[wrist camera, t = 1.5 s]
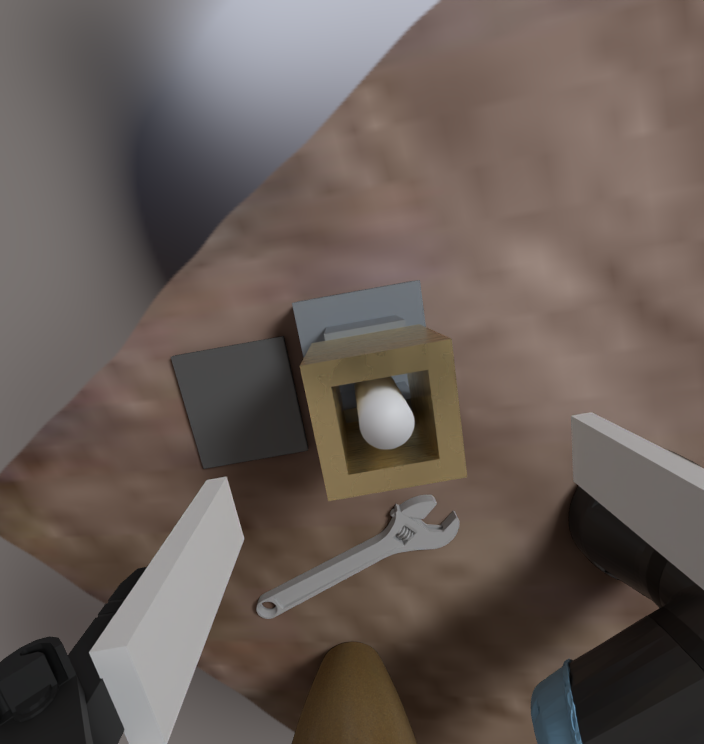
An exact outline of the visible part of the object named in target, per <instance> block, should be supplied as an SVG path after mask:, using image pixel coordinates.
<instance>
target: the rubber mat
mask: <svg viewBox="0 0 704 744" xmlns="http://www.w3.org/2000/svg"><path fill="white" fill-rule="evenodd" d="M171 360H172V363H173V367H174V370H175V373H176V377H177V380H178V384H179V387H180V390H181V394H182V397H183V401H184V404H185V407H186V411H187V414H188V418H189V421H190V424H191V428H192V431H193V435H194V438H195V441H196V445H197V448H198V452H199V455H200V458H201V462H202V465H203V469H206V468H211V467H217V466H223V465H229V464H234V463H240V462H246V461H251V460H257V459H263V458H269V457H274V456H280V455H286V454H291V453H297V452H303V451H308V444H307V440H306V435H305V431H304V426H303V422H302V417H301V412H300V408H299V403H298V399H297V394H296V390H295V385H294V380H293V376H292V371H291V367H290V362H289V358H288V353H287V348H286V344H285V339H284V336H281V337H276V338H270V339H265V340H259V341H253V342H248V343H242V344H237V345H231V346H225V347H220V348H214V349H209V350H203V351H197V352H192V353H186V354H181V355H175V356H172V357H171Z"/></svg>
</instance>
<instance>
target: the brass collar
mask: <svg viewBox="0 0 704 744" xmlns="http://www.w3.org/2000/svg"><path fill="white" fill-rule="evenodd" d="M300 370H301V375H302V379H303V384H304V389H305V393H306V398H307V403H308V408H309V412H310V417H311V422H312V426H313V431H314V436H315V440H316V445H317V450H318V455H319V459H320V464H321V469H322V473H323V478H324V483H325V487H326V492H327V497H328V501H332V500H338V499H344V498H349V497H355V496H361V495H367V494H372V493H378V492H384V491H390V490H396V489H401V488H407V487H413V486H419V485H424V484H430V483H436V482H442V481H447V480H453V479H459V478H465V477H467V471H466V463H465V454H464V445H463V436H462V427H461V418H460V410H459V401H458V392H457V383H456V374H455V365H454V357H453V348H452V339H450V338H448V337H446V336H444V335H442V334H440V333H437V332H435V331H433V330H431V329H429V328H426V327H424V326H422V325H420V324H417V325H412V326H406V327H401V328H395V329H389V330H384V331H378V332H373V333H367V334H361V335H356V336H350V337H345V338H339V339H333V340H328V341H322V342H317V343H312V344H311V346H310V348H309V349H308V351H307V353H306V355H305V357H304V359H303V361H302V363H301V364H300ZM401 374H407V377H408V384H409V391H410V397H411V404H412V411H413V412H412V413H413V416H414V430H413V432H412V434H411V436H410V438H409V439H408V440H407V441H406V442H405V443H404V444H402V445H401V446H399V447H397V448H394V449H379V448H376V447H373V446H372V445H370V444H369V443H368V442H367V441H366V440H365V439H364V438H363V436H362V434H361V431H360V426H359V421H357V422H351V423H346V419H345V414H344V408H343V403H342V398H341V393H340V387H339V385H344V384H350V383H356V382H361V381H367V380H373V379H378V378H384V377H390V376H395V375H401Z"/></svg>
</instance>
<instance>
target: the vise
mask: <svg viewBox="0 0 704 744" xmlns="http://www.w3.org/2000/svg"><path fill="white" fill-rule="evenodd" d="M292 305H293V310H294V315H295V320H296V324H297V329H298V334H299V339H300V344H301V348H302V353H303V358H304V357H305V355H306V353H307V351H308V349H309V348H310V346H311V344H312V343H317V342H322V341H328V340H333V339H339V338H345V337H350V336H356V335H361V334H367V333H373V332H378V331H384V330H389V329H395V328H401V327H406V326H412V325H417V324H420V325H422V326H424V327H426V325H425V317H424V309H423V302H422V294H421V286H420V280H419V281H410V282H404V283H399V284H393V285H387V286H382V287H376V288H371V289H365V290H360V291H354V292H348V293H343V294H337V295H332V296H326V297H321V298H315V299H309V300H304V301H298V302H295V303H292ZM339 387H340V393H341V398H342V403H343V408H344V414H345V419H346V423H351V422H357V421H359V426H360V431H361V434H362V436H363V438H364V439H365V440H366V441H367V442H368V443H369V444H370V445H372V446H373V447H376V448H379V449H394V448H397V447H399V446H401V445H402V444H404V443H405V442H406V441H407V440H408V439H409V438H410V436H411V434H412V432H413V430H414V416H413V413H412V412H413V411H412V404H411V397H410V391H409V384H408V377H407V374H401V375H395V376H390V377H384V378H378V379H373V380H367V381H361V382H356V383H350V384H344V385H339Z"/></svg>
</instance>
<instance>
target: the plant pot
mask: <svg viewBox="0 0 704 744" xmlns="http://www.w3.org/2000/svg"><path fill="white" fill-rule="evenodd" d="M292 744H417V742H416V739H415V737H414V734H413V731H412V728H411V726H410V723H409V720H408V718H407V715H406V713H405V710H404V707H403V705H402V703H401V700H400V698H399V696H398V693H397V691H396V689H395V687H394V684H393V682H392V680H391V678H390V676H389V674H388V672H387V670H386V668H385V666H384V664H383V662H382V660H381V658H380V657H379V655H378V653H377V652H376V651H375V650H374V649H373V648H372V647H370V646H368V645H366V644H363V643H359V642H346V643H342V644H339V645H337V646H335V647H334V648H332V649H331V650H330V651H329V652H328V653H327V654H326V655H325V657H324V659H323V661H322V663H321V665H320V668H319V670H318V672H317V674H316V677H315V679H314V681H313V684H312V686H311V689H310V691H309V694H308V696H307V699H306V702H305V705H304V707H303V710H302V713H301V716H300V719H299V722H298V725H297V728H296V731H295V734H294V738H293V741H292Z"/></svg>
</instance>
